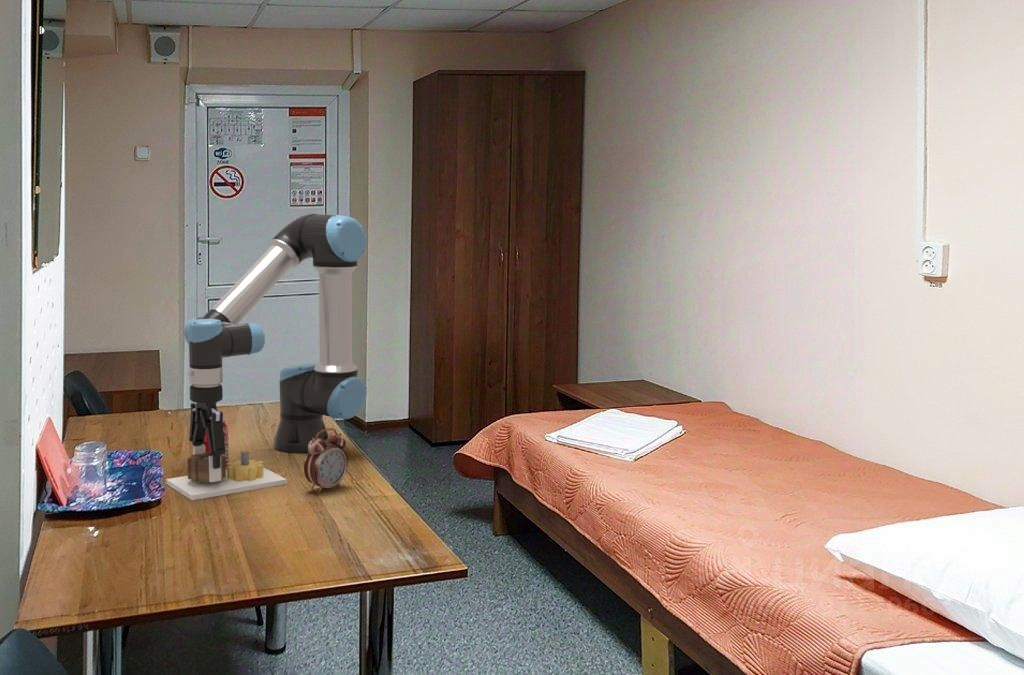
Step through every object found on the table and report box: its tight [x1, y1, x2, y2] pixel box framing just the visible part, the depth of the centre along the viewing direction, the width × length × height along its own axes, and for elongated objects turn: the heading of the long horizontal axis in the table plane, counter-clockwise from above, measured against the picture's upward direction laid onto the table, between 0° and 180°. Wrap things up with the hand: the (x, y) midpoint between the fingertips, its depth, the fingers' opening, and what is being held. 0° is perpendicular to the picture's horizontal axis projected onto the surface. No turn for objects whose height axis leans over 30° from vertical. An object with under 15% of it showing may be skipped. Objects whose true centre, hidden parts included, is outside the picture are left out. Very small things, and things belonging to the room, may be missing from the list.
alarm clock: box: [303, 427, 349, 494], centre depth 258 cm, size 11×5×15 cm, turn 141°
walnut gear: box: [187, 453, 227, 483], centre depth 257 cm, size 9×9×5 cm
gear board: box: [165, 451, 288, 501], centre depth 260 cm, size 24×16×7 cm, turn 128°
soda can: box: [203, 418, 229, 465], centre depth 276 cm, size 7×7×12 cm
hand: (207, 476), depth 258 cm, fingers closed on walnut gear, 9 cm apart
